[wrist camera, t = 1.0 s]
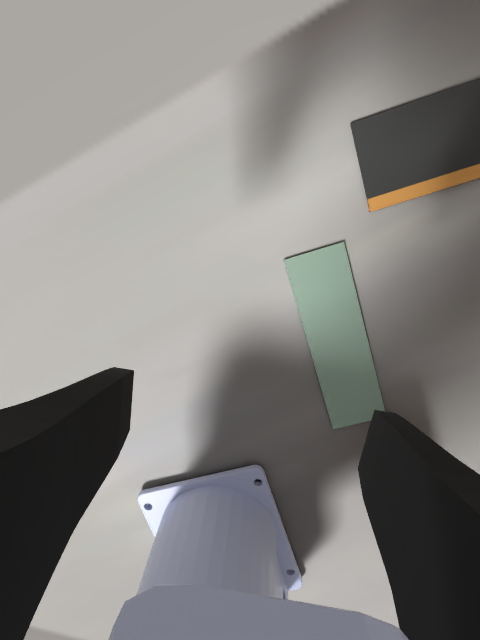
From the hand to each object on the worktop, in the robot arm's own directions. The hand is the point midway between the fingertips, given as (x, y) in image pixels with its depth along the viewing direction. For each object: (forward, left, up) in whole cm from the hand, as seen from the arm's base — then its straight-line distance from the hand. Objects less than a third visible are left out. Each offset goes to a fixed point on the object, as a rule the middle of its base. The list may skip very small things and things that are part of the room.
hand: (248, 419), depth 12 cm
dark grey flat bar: (+6, -13, -10) cm, 17 cm away
